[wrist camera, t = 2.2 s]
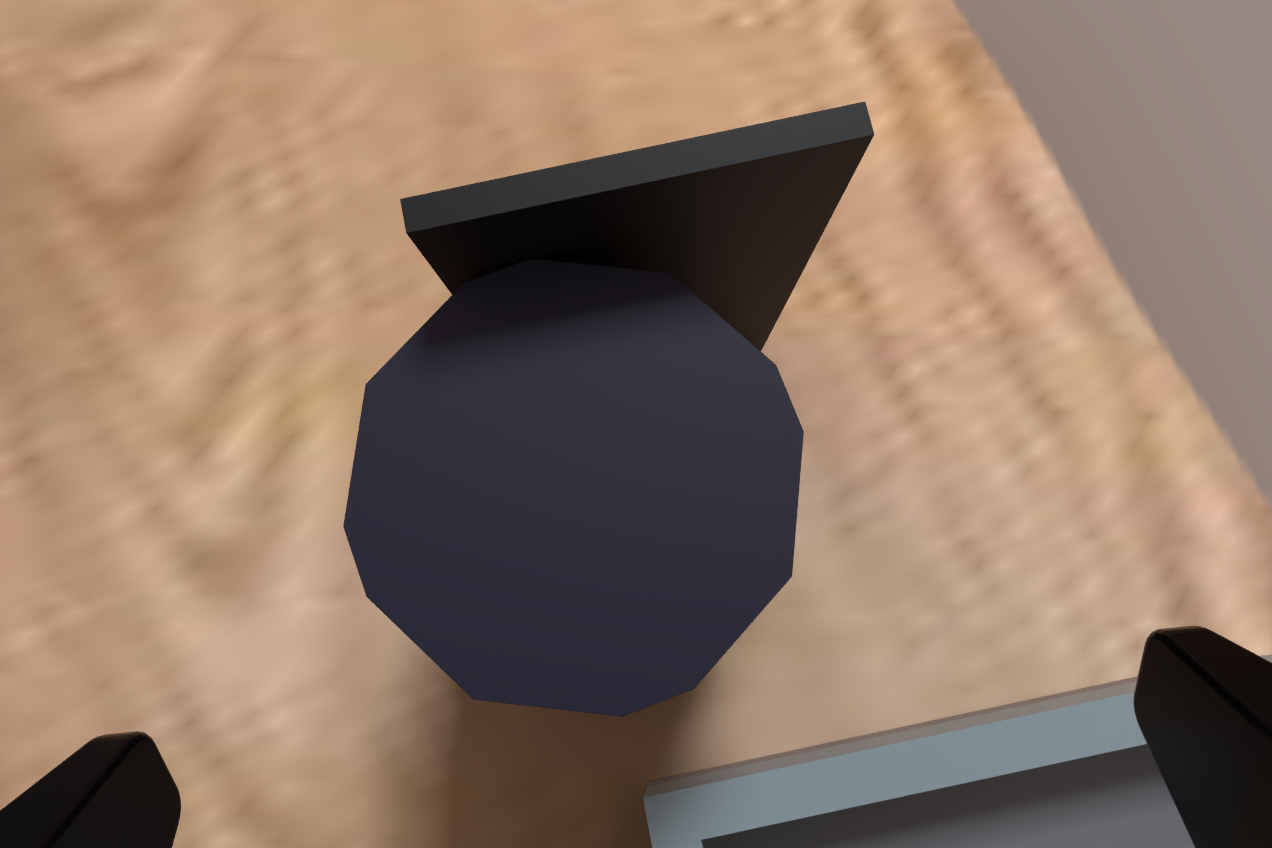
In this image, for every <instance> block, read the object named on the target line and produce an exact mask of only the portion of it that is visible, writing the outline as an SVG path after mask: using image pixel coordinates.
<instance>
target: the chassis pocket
mask: <svg viewBox="0 0 1272 848" xmlns="http://www.w3.org/2000/svg"><path fill="white" fill-rule="evenodd" d="M1260 657H1262V658H1264V659H1266V660H1267V661H1269V662H1271V663H1272V655H1263V656H1260ZM1137 678H1138V677H1134V678H1129V679H1124V680H1120V681H1115V682H1110V683H1106V684H1101V685H1096V686H1092V687H1087V688H1082V689H1078V690H1073V691H1068V692H1064V693H1059V694H1054V695H1050V696H1045V697H1040V698H1036V699H1031V700H1026V701H1022V702H1017V703H1012V704H1008V705H1003V706H998V707H994V708H989V709H984V710H980V711H975V712H970V713H966V714H961V715H956V716H952V717H947V718H942V719H938V720H933V721H928V722H924V723H919V724H914V725H910V726H905V727H900V728H896V729H891V730H886V731H882V732H877V733H872V734H868V735H863V736H858V737H854V738H849V739H844V740H840V741H835V742H830V743H826V744H821V745H816V746H812V747H807V748H802V749H798V750H793V751H788V752H784V753H779V754H774V755H770V756H765V757H761V758H756V759H751V760H747V761H742V762H737V763H733V764H728V765H723V766H719V767H714V768H709V769H705V770H700V771H695V772H691V773H686V774H681V775H677V776H672V777H667V778H663V779H658V780H653V781H649V783H648V786H647V788H646V791H645V793H644V796H643V802H644V807H645V812H646V818H647V823H648V828H649V833H650V839H651V844H652V848H1195V847H1194V845H1193V842H1192V840H1191V838H1190V836H1189V834H1188V832H1187V829H1186V827H1185V825H1184V823H1183V821H1182V819H1181V816H1180V814H1179V812H1178V810H1177V808H1176V806H1175V803H1174V801H1173V799H1172V797H1171V795H1170V793H1169V790H1168V788H1167V786H1166V784H1165V782H1164V780H1163V777H1162V775H1161V773H1160V771H1159V769H1158V767H1157V764H1156V762H1155V760H1154V758H1153V756H1152V754H1151V751H1150V749H1149V747H1148V745H1147V743H1146V741H1145V738H1144V736H1143V734H1142V732H1141V730H1140V728H1139V725H1138V723H1137V720H1136V716H1135V712H1134V702H1133V699H1134V691H1135V687H1136V682H1137Z"/></svg>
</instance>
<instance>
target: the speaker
mask: <svg viewBox="0 0 1272 848" xmlns="http://www.w3.org/2000/svg"><path fill="white" fill-rule="evenodd" d="M873 136H874V132H873V128H872V125H871V121H870V117H869V114H868V110H867V106H866V103H865V102H861V103H856V104H851V105H847V106H842V107H837V108H832V109H827V110H823V111H818V112H813V113H808V114H804V115H799V116H794V117H789V118H785V119H780V120H775V121H770V122H766V123H761V124H756V125H751V126H746V127H742V128H737V129H732V130H727V131H723V132H718V133H713V134H708V135H704V136H699V137H694V138H689V139H685V140H680V141H675V142H670V143H665V144H661V145H656V146H651V147H646V148H642V149H637V150H632V151H627V152H623V153H618V154H613V155H608V156H604V157H599V158H594V159H589V160H584V161H580V162H575V163H570V164H565V165H561V166H556V167H551V168H546V169H542V170H537V171H532V172H527V173H523V174H518V175H513V176H508V177H503V178H499V179H494V180H489V181H484V182H480V183H475V184H470V185H465V186H461V187H456V188H451V189H446V190H441V191H437V192H432V193H427V194H422V195H418V196H413V197H408V198H403V199H400V201H401V206H402V212H403V217H404V223H405V228H406V233H407V235H408V236H409V237H410V239H411V240H412V241H413V243H414V244H415V245H416V247H417V248H418V249H419V251H420V252H421V253H422V255H423V256H424V257H425V259H426V260H427V261H428V263H429V264H430V265H431V267H432V268H433V269H434V271H435V272H436V273H437V275H438V276H439V277H440V279H441V280H442V282H443V283H444V284H445V286H446V287H447V288H448V290H449V291H450V292H451V294H452V296H451V297H450V298H449V299H448V300H447V301H446V302H445V303H444V304H443V305H442V306H441V307H440V308H439V309H438V310H437V311H436V312H435V314H434V315H433V316H432V317H431V318H430V319H429V320H428V321H427V322H426V323H425V324H424V325H423V326H422V327H421V328H420V329H419V330H418V331H417V332H416V333H415V334H414V335H413V336H412V337H411V338H410V339H409V340H408V341H407V342H406V343H405V344H404V345H403V346H402V347H401V348H400V350H399V351H398V352H397V353H396V354H395V355H394V356H393V357H392V358H391V359H390V360H389V361H388V362H387V363H386V364H385V365H384V366H383V367H382V368H381V369H380V370H379V371H378V372H377V373H376V374H375V375H374V376H373V377H372V378H371V379H370V380H369V381H368V382H367V383H366V386H365V392H364V399H363V405H362V411H361V418H360V424H359V431H358V437H357V443H356V450H355V456H354V462H353V469H352V475H351V482H350V488H349V494H348V501H347V507H346V513H345V520H344V530H345V533H346V536H347V539H348V542H349V545H350V548H351V551H352V554H353V557H354V560H355V563H356V566H357V569H358V572H359V575H360V578H361V581H362V584H363V587H364V590H365V593H366V596H367V597H368V598H369V599H370V600H371V601H372V602H373V603H374V604H375V605H376V606H377V607H378V608H379V609H380V610H381V611H382V612H383V613H384V614H385V615H386V616H387V617H388V618H389V619H390V620H391V621H392V622H393V623H395V624H396V625H397V626H398V627H399V628H400V629H401V630H402V631H403V632H404V633H405V634H406V635H407V636H408V637H409V638H410V639H411V640H412V641H413V642H414V643H415V644H416V645H417V646H418V647H419V648H420V649H422V650H423V651H424V652H425V653H426V654H427V655H428V656H429V657H430V658H431V659H432V660H433V661H434V662H435V663H436V664H437V665H438V666H439V667H440V668H441V669H442V670H443V671H444V672H445V673H446V674H447V675H448V676H450V677H451V678H452V679H453V680H454V681H455V682H456V683H457V684H458V685H459V686H460V687H461V688H462V689H463V690H464V691H465V692H466V693H467V694H468V695H469V696H470V697H471V698H472V699H474V700H483V701H492V702H500V703H509V704H518V705H526V706H535V707H544V708H552V709H561V710H570V711H578V712H587V713H596V714H605V715H613V716H622V717H623V716H626V715H628V714H631V713H633V712H636V711H638V710H641V709H644V708H646V707H649V706H651V705H654V704H656V703H659V702H661V701H664V700H667V699H669V698H672V697H674V696H677V695H679V694H682V693H684V692H687V691H690V690H692V689H694V688H695V687H696V686H697V685H698V684H699V682H700V681H701V680H702V679H703V678H704V677H705V676H706V674H707V673H708V672H709V671H710V670H711V669H712V668H713V666H714V665H715V664H716V663H717V662H718V661H719V659H720V658H721V657H722V656H723V655H724V654H725V653H726V651H727V650H728V649H729V648H730V647H731V646H732V645H733V643H734V642H735V641H736V640H737V639H738V638H739V637H740V635H741V634H742V633H743V632H744V631H745V630H746V628H747V627H748V626H749V625H750V624H751V623H752V622H753V620H754V619H755V618H756V617H757V616H758V615H759V614H760V612H761V611H762V610H763V609H764V608H765V607H766V606H767V604H768V603H769V602H770V601H771V600H772V599H773V598H774V596H775V595H776V594H777V593H778V592H779V591H780V589H781V588H782V587H783V586H784V585H785V584H786V583H787V581H788V580H789V579H790V578H791V577H792V569H793V557H794V545H795V532H796V520H797V507H798V495H799V483H800V470H801V458H802V446H803V433H804V431H803V429H802V426H801V424H800V422H799V419H798V417H797V414H796V412H795V410H794V407H793V405H792V402H791V400H790V397H789V395H788V393H787V390H786V388H785V385H784V383H783V381H782V378H781V376H780V373H779V371H778V368H777V366H776V365H775V364H774V363H773V362H772V361H771V360H770V359H769V358H767V357H766V356H765V355H764V354H763V353H762V352H761V350H762V348H763V346H764V344H765V342H766V341H767V339H768V337H769V335H770V333H771V331H772V329H773V327H774V325H775V323H776V321H777V320H778V318H779V316H780V314H781V312H782V310H783V308H784V306H785V304H786V302H787V300H788V298H789V297H790V295H791V293H792V291H793V289H794V287H795V285H796V283H797V281H798V279H799V277H800V276H801V274H802V272H803V270H804V268H805V266H806V264H807V262H808V260H809V258H810V256H811V254H812V253H813V251H814V249H815V247H816V245H817V243H818V241H819V239H820V237H821V235H822V233H823V232H824V230H825V228H826V226H827V224H828V222H829V220H830V218H831V216H832V214H833V212H834V210H835V209H836V207H837V205H838V203H839V201H840V199H841V197H842V195H843V193H844V191H845V189H846V188H847V186H848V184H849V182H850V180H851V178H852V176H853V174H854V172H855V170H856V168H857V166H858V165H859V163H860V161H861V159H862V157H863V155H864V153H865V151H866V149H867V147H868V145H869V144H870V142H871V140H872V138H873Z"/></svg>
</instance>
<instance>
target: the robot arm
mask: <svg viewBox="0 0 1272 848" xmlns="http://www.w3.org/2000/svg"><path fill="white" fill-rule="evenodd" d="M1133 702H1134V712H1135V716H1136V720H1137V723H1138V725H1139V728H1140V730H1141V732H1142V734H1143V736H1144V738H1145V741H1146V743H1147V745H1148V747H1149V749H1150V751H1151V754H1152V756H1153V758H1154V760H1155V762H1156V764H1157V767H1158V769H1159V771H1160V773H1161V775H1162V777H1163V780H1164V782H1165V784H1166V786H1167V788H1168V790H1169V793H1170V795H1171V797H1172V799H1173V801H1174V803H1175V806H1176V808H1177V810H1178V812H1179V814H1180V816H1181V819H1182V821H1183V823H1184V825H1185V827H1186V829H1187V832H1188V834H1189V836H1190V838H1191V840H1192V842H1193V845H1194V847H1195V848H1272V663H1271V662H1269V661H1267V660H1266V659H1264V658H1262V657H1260V656H1258V655H1256V654H1254V653H1252V652H1251V651H1249V650H1247V649H1245V648H1243V647H1241V646H1239V645H1237V644H1236V643H1234V642H1232V641H1230V640H1228V639H1226V638H1224V637H1222V636H1221V635H1219V634H1217V633H1215V632H1213V631H1211V630H1209V629H1206V628H1204V627H1200V626H1186V627H1176V628H1166V629H1158V630H1156V631H1153V632H1152V633H1151V634H1150V635H1149V636H1148V638H1147V640H1146V643H1145V647H1144V651H1143V656H1142V660H1141V665H1140V669H1139V674H1138V678H1137V682H1136V687H1135V691H1134V699H1133ZM180 812H181V800H180V794H179V791H178V788H177V786H176V784H175V782H174V780H173V778H172V776H171V774H170V772H169V770H168V768H167V766H166V764H165V762H164V760H163V758H162V756H161V754H160V752H159V750H158V748H157V746H156V744H155V742H154V741H153V739H152V738H151V737H150V736H148V735H147V734H146V733H144V732H127V733H117V734H107V735H102V736H98V737H96V738H94V739H92V740H91V741H89V742H88V743H87V744H85V745H84V746H83V747H81V748H80V749H79V750H77V751H76V752H75V753H74V754H72V755H71V756H70V757H69V758H67V759H66V760H65V761H63V762H62V763H61V764H60V765H58V766H57V767H56V768H54V769H53V770H52V771H51V772H49V773H48V774H47V775H45V776H44V777H43V778H42V779H40V780H39V781H38V782H36V783H35V784H34V785H33V786H31V787H30V788H29V789H27V790H26V791H25V792H24V793H22V794H21V795H20V796H18V797H17V798H16V799H15V800H13V801H12V802H11V803H9V804H8V805H7V806H6V807H4V808H3V809H2V810H0V848H172V846H173V842H174V838H175V835H176V831H177V827H178V824H179V819H180Z"/></svg>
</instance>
